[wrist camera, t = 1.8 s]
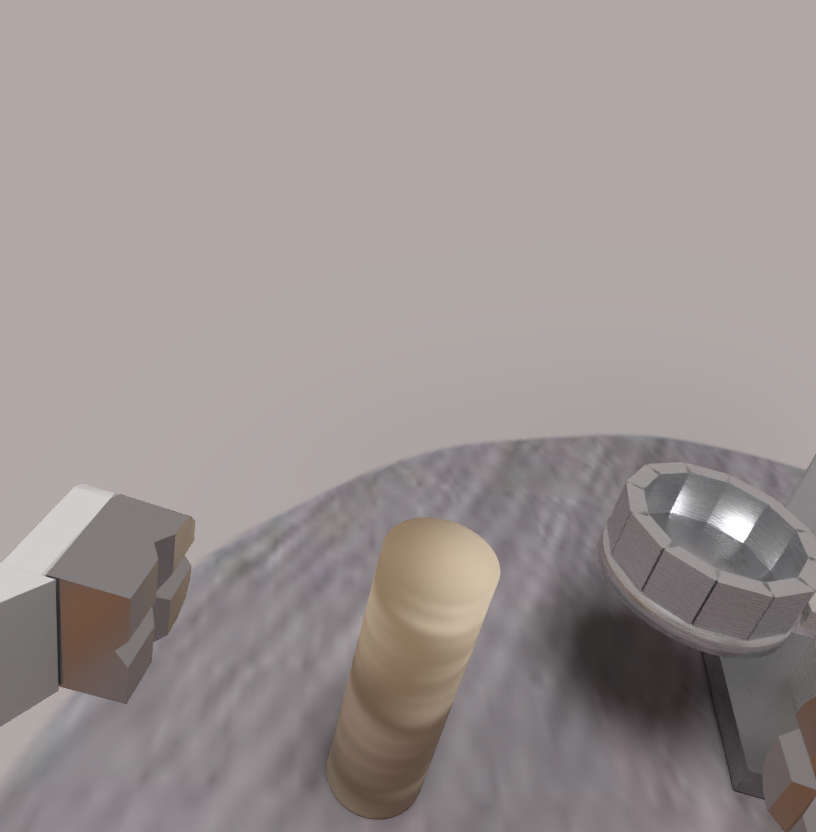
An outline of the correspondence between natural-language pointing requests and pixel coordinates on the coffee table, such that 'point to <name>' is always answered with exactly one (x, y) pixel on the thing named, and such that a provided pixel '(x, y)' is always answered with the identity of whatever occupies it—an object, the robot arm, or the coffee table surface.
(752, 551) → the cup bracket
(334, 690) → the coffee table surface
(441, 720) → the rail post
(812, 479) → the skincare box
